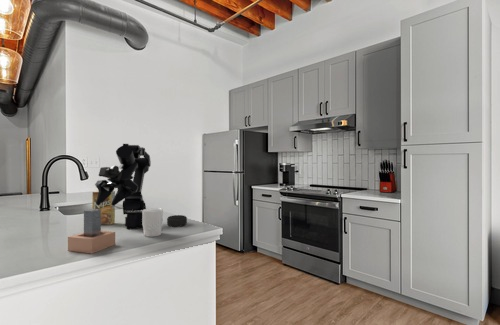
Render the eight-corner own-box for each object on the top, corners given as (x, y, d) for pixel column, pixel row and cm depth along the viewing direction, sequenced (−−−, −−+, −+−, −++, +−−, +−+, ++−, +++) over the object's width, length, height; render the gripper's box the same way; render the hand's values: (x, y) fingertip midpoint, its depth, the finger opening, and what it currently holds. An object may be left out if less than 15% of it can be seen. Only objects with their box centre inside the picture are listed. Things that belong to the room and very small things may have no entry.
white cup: (166, 233, 115) (167, 209, 115) (152, 238, 108) (152, 212, 108) (152, 231, 118) (152, 207, 118) (137, 235, 111) (137, 210, 111)
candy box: (91, 224, 130) (91, 191, 130) (96, 222, 134) (96, 190, 134) (111, 224, 130) (111, 191, 130) (115, 222, 134) (115, 190, 134)
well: (92, 242, 102) (92, 229, 102) (115, 244, 99) (115, 231, 99) (67, 250, 93) (67, 236, 93) (91, 253, 90) (91, 239, 90)
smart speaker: (163, 225, 130) (163, 216, 130) (179, 222, 137) (179, 214, 137) (174, 228, 124) (174, 219, 124) (190, 225, 131) (190, 216, 131)
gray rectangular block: (92, 244, 98) (92, 208, 98) (100, 245, 97) (100, 209, 97) (83, 247, 95) (83, 210, 95) (92, 248, 94) (92, 211, 94)
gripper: (95, 160, 112) (72, 193, 103) (126, 157, 103) (103, 193, 94) (116, 176, 120) (95, 208, 111) (146, 174, 111) (127, 209, 102)
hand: (104, 205), depth 104 cm, fingers open, 9 cm apart
